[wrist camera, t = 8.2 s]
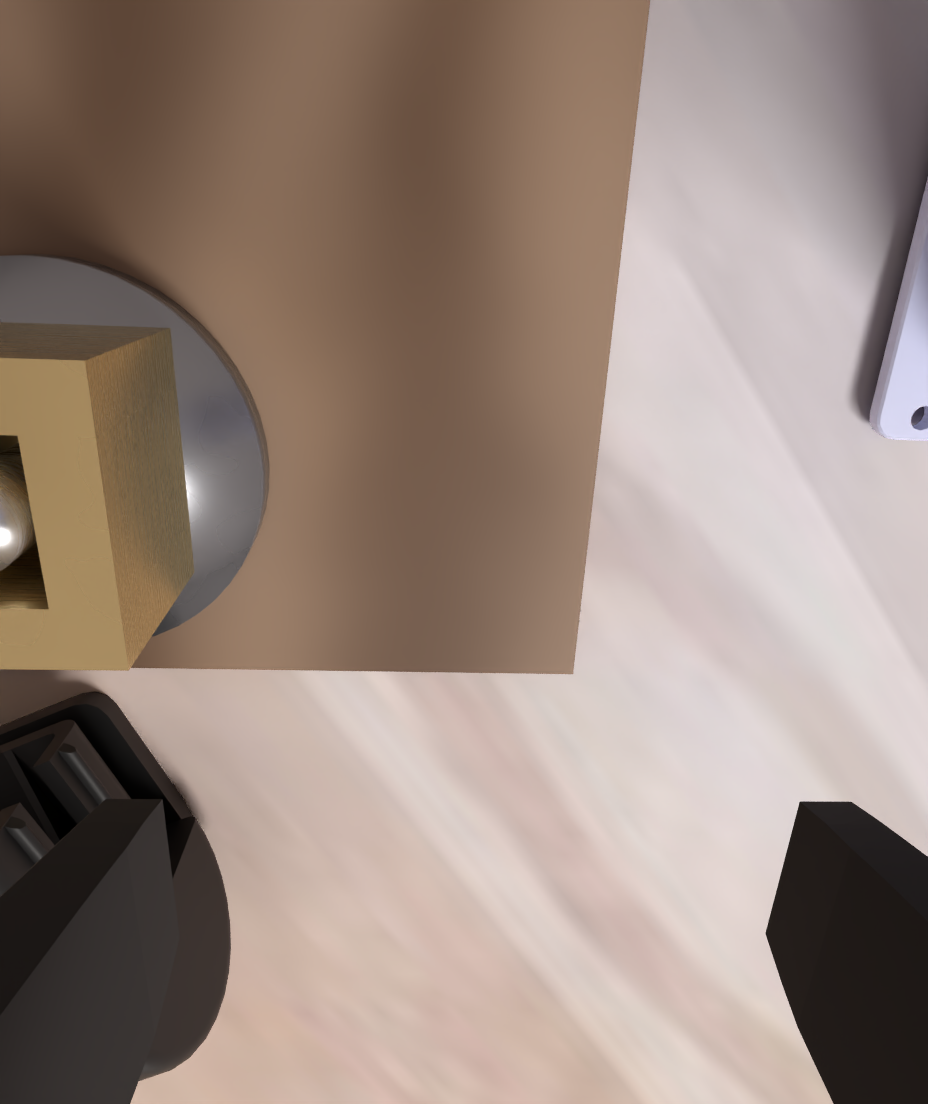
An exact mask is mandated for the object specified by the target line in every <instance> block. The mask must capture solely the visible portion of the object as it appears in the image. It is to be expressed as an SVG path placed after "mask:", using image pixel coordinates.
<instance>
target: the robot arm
mask: <svg viewBox="0 0 928 1104" xmlns="http://www.w3.org/2000/svg"><path fill="white" fill-rule="evenodd" d="M920 407H924V416H923V418H922V420H921V421H920V422H919V423H917V424H916V425H913V426H912V425H911V417H912V415H913V413H914V412H915V411H916V410H917V409H918V408H920ZM869 422H870V424H871V427H872V429H873V430H874V431H875V432H876V433H877V434H879V435H881V436H883V437H886V438H889V439H893V440H921V441H928V178H927V182H926V186H925V191H924V195H923V199H922V203H921V207H920V211H919V215H918V219H917V223H916V227H915V231H914V235H913V239H912V244H911V248H910V252H909V256H908V260H907V264H906V268H905V272H904V276H903V280H902V284H901V288H900V292H899V297H898V301H897V305H896V309H895V313H894V317H893V321H892V325H891V329H890V333H889V337H888V341H887V345H886V350H885V354H884V358H883V362H882V366H881V370H880V374H879V378H878V382H877V386H876V390H875V394H874V398H873V403H872V407H871V411H870V421H869ZM766 936H767V939H768V942H769V945H770V948H771V951H772V954H773V958H774V961H775V964H776V967H777V970H778V973H779V976H780V979H781V982H782V985H783V988H784V990H785V993H786V996H787V999H788V1001H789V1004H790V1007H791V1010H792V1012H793V1015H794V1018H795V1021H796V1024H797V1026H798V1029H799V1031H800V1033H801V1035H802V1037H803V1039H804V1042H805V1044H806V1046H807V1048H808V1050H809V1052H810V1055H811V1057H812V1059H813V1061H814V1063H815V1065H816V1067H817V1069H818V1072H819V1074H820V1076H821V1078H822V1080H823V1082H824V1084H825V1086H826V1089H827V1091H828V1093H829V1095H830V1097H831V1099H832V1101H833V1103H834V1104H928V857H927V856H926V855H925V854H923V853H922V852H921V851H919V850H918V849H916V848H915V847H914V846H912V845H911V844H910V843H908V842H907V841H906V840H904V839H903V838H902V837H900V836H899V835H898V834H896V833H895V832H894V831H892V830H891V829H889V828H888V827H887V826H885V825H884V824H883V823H881V822H880V821H878V820H877V819H875V818H874V817H873V816H871V815H870V814H868V813H867V812H865V811H864V810H862V809H861V808H860V807H858V806H857V805H855V804H854V803H852V802H800V803H799V807H798V811H797V815H796V819H795V822H794V826H793V830H792V834H791V838H790V842H789V845H788V849H787V853H786V857H785V861H784V865H783V868H782V872H781V876H780V880H779V884H778V888H777V891H776V895H775V899H774V903H773V907H772V911H771V914H770V918H769V922H768V926H767V930H766ZM179 939H180V935H179V927H178V919H177V911H176V903H175V895H174V887H173V879H172V871H171V863H170V855H169V847H168V839H167V831H166V823H165V815H164V807H163V799H105V800H104V801H103V802H102V803H101V804H100V805H99V806H97V807H96V808H95V809H94V810H93V811H92V812H91V813H90V814H88V815H87V816H86V817H85V818H84V819H83V820H82V821H81V822H80V823H78V824H77V825H76V826H75V827H74V828H73V829H72V830H71V831H70V832H69V833H68V834H67V835H66V836H64V837H63V838H62V839H61V840H60V841H59V842H58V843H57V844H56V845H55V846H54V847H53V848H52V849H51V850H49V851H48V852H47V853H46V854H45V855H44V856H43V857H42V858H41V859H40V860H39V861H38V862H37V863H36V864H34V865H33V866H32V867H31V868H30V869H29V870H28V871H27V872H26V873H25V874H24V875H23V876H22V877H21V878H19V879H18V880H17V881H16V882H15V883H14V884H13V885H12V886H11V887H10V888H9V889H8V890H6V891H5V892H4V893H3V894H2V895H1V896H0V1104H130V1103H131V1100H132V1097H133V1094H134V1092H135V1089H136V1086H137V1084H138V1081H139V1078H140V1075H141V1073H142V1070H143V1067H144V1065H145V1062H146V1059H147V1056H148V1053H149V1051H150V1048H151V1045H152V1042H153V1039H154V1037H155V1033H156V1029H157V1026H158V1022H159V1018H160V1014H161V1010H162V1007H163V1003H164V999H165V995H166V992H167V988H168V984H169V979H170V975H171V971H172V967H173V963H174V959H175V955H176V951H177V947H178V943H179Z"/></svg>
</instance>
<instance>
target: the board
mask: <svg viewBox="0 0 928 1104" xmlns="http://www.w3.org/2000/svg"><path fill="white" fill-rule="evenodd" d="M649 5H650V0H0V256H7V255H36V254H47V255H56V256H65V257H73V258H78V259H82V260H86V261H90V262H94V263H98V264H102V265H105V266H107V267H110V268H113V269H115V270H118V271H121V272H123V273H126V274H128V275H131V276H133V277H135V278H137V279H138V280H140V281H142V282H144V283H146V284H148V285H150V286H152V287H154V288H156V289H157V290H159V291H160V292H162V293H163V294H164V295H166V296H167V297H169V298H170V299H172V300H173V301H175V302H176V303H178V304H179V305H180V306H182V307H183V308H184V309H185V310H186V311H187V312H189V313H190V314H191V315H192V316H193V317H194V318H195V319H197V320H198V321H199V322H200V323H201V324H202V325H203V326H204V327H205V328H206V329H207V330H208V331H209V332H210V333H211V335H212V336H213V337H214V338H215V339H216V340H217V341H218V342H219V343H220V344H221V346H222V347H223V348H224V350H225V351H226V352H227V354H228V355H229V357H230V358H231V359H232V361H233V362H234V364H235V365H236V367H237V368H238V370H239V371H240V373H241V375H242V377H243V379H244V381H245V382H246V384H247V386H248V388H249V390H250V391H251V394H252V396H253V399H254V401H255V404H256V406H257V409H258V411H259V414H260V416H261V420H262V424H263V428H264V432H265V436H266V440H267V447H268V455H269V464H270V473H269V493H268V499H267V505H266V511H265V515H264V518H263V521H262V524H261V527H260V530H259V533H258V535H257V537H256V539H255V541H254V543H253V546H252V548H251V550H250V552H249V554H248V555H247V557H246V559H245V561H244V563H243V565H242V566H241V568H240V569H239V571H238V572H237V574H236V575H235V577H234V578H233V580H232V581H231V583H230V584H229V585H228V586H227V587H226V588H225V590H224V591H223V592H222V593H221V594H220V595H219V596H218V597H217V598H216V599H215V600H214V601H213V602H212V603H211V604H210V605H208V606H207V607H206V608H205V609H203V610H202V611H201V612H200V613H198V614H197V615H196V616H194V617H192V618H191V619H189V620H187V621H186V622H184V623H182V624H181V625H179V626H177V627H175V628H173V629H170V630H168V631H166V632H163V633H161V634H159V635H156V636H153V637H151V638H150V639H149V641H148V642H147V644H146V645H145V647H144V648H143V650H142V651H141V653H140V654H139V656H138V657H137V659H136V660H135V662H134V663H133V665H132V666H131V668H188V669H257V670H327V671H397V672H466V673H536V674H573V669H574V660H575V651H576V642H577V634H578V625H579V616H580V607H581V599H582V590H583V581H584V573H585V564H586V555H587V546H588V538H589V529H590V520H591V511H592V503H593V494H594V485H595V476H596V468H597V459H598V450H599V442H600V433H601V424H602V415H603V407H604V398H605V389H606V380H607V372H608V363H609V354H610V346H611V337H612V328H613V319H614V311H615V302H616V293H617V284H618V276H619V267H620V258H621V249H622V241H623V232H624V223H625V215H626V206H627V197H628V188H629V180H630V171H631V162H632V153H633V145H634V136H635V127H636V118H637V110H638V101H639V92H640V84H641V75H642V66H643V57H644V49H645V40H646V31H647V22H648V14H649Z"/></svg>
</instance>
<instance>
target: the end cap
mask: <svg viewBox="0 0 928 1104" xmlns="http://www.w3.org/2000/svg"><path fill="white" fill-rule="evenodd" d="M105 799H163V807H164V815H165V823H166V831H167V839H168V847H169V855H170V863H171V871H172V879H173V887H174V895H175V903H176V911H177V919H178V927H179V935H180V939H179V943H178V947H177V951H176V955H175V959H174V963H173V967H172V971H171V975H170V979H169V984H168V988H167V992H166V995H165V999H164V1003H163V1007H162V1010H161V1014H160V1018H159V1022H158V1026H157V1029H156V1033H155V1037H154V1039H153V1042H152V1045H151V1048H150V1051H149V1053H148V1056H147V1059H146V1062H145V1065H144V1067H143V1070H142V1073H141V1075H140V1078H139V1081H141V1080H143V1079H146V1078H149V1077H152V1076H155V1075H158V1074H161V1073H164V1072H167V1071H170V1070H172V1069H174V1068H175V1067H177V1066H178V1065H180V1064H181V1063H182V1062H184V1061H185V1060H187V1059H188V1058H190V1057H191V1056H192V1054H193V1053H194V1052H195V1051H196V1050H197V1048H198V1047H199V1046H200V1045H201V1044H202V1042H203V1041H204V1040H205V1039H206V1037H207V1035H208V1034H209V1032H210V1030H211V1028H212V1026H213V1024H214V1022H215V1020H216V1018H217V1016H218V1013H219V1010H220V1007H221V1004H222V1001H223V998H224V995H225V990H226V984H227V979H228V974H229V965H230V951H231V938H230V919H229V911H228V903H227V897H226V893H225V888H224V884H223V879H222V875H221V872H220V869H219V866H218V863H217V860H216V857H215V855H214V852H213V850H212V848H211V846H210V844H209V841H208V839H207V837H206V835H205V833H204V832H203V830H202V828H201V827H200V825H199V823H198V822H197V820H196V818H195V817H194V816H192V815H191V813H190V811H189V809H188V807H187V805H186V803H185V801H184V799H183V798H182V796H181V795H180V794H179V792H178V791H177V789H176V788H175V786H174V785H173V784H172V782H171V781H170V779H169V778H168V776H167V775H166V774H165V772H164V771H163V769H162V768H161V766H160V765H159V764H158V762H157V761H156V759H155V758H154V757H153V755H152V754H151V752H150V751H149V749H148V748H147V747H146V745H145V744H144V742H143V741H142V739H141V738H140V737H139V735H138V734H137V732H136V731H135V729H134V728H133V727H132V725H131V724H130V722H129V721H128V719H127V718H126V717H125V715H124V714H123V712H122V711H121V710H120V708H119V707H118V705H117V704H116V703H115V702H114V701H113V700H112V699H110V698H109V697H108V696H107V695H104V694H100V693H97V692H90V693H82V694H80V695H77V696H75V697H72V698H70V699H67V700H65V701H62V702H60V703H57V704H55V705H52V706H50V707H47V708H45V709H42V710H40V711H38V712H35V713H33V714H30V715H28V716H25V717H23V718H20V719H18V720H15V721H13V722H10V723H8V724H5V725H3V726H0V896H1V895H2V894H3V893H4V892H5V891H6V890H8V889H9V888H10V887H11V886H12V885H13V884H14V883H15V882H16V881H17V880H18V879H19V878H21V877H22V876H23V875H24V874H25V873H26V872H27V871H28V870H29V869H30V868H31V867H32V866H33V865H34V864H36V863H37V862H38V861H39V860H40V859H41V858H42V857H43V856H44V855H45V854H46V853H47V852H48V851H49V850H51V849H52V848H53V847H54V846H55V845H56V844H57V843H58V842H59V841H60V840H61V839H62V838H63V837H64V836H66V835H67V834H68V833H69V832H70V831H71V830H72V829H73V828H74V827H75V826H76V825H77V824H78V823H80V822H81V821H82V820H83V819H84V818H85V817H86V816H87V815H88V814H90V813H91V812H92V811H93V810H94V809H95V808H96V807H97V806H99V805H100V804H101V803H102V802H103V801H104V800H105Z"/></svg>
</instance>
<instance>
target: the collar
mask: <svg viewBox="0 0 928 1104" xmlns="http://www.w3.org/2000/svg"><path fill="white" fill-rule="evenodd" d="M0 435H14V436H18V441H19V446H20V452H21V457H22V463H23V469H24V474H25V480H26V485H27V491H28V496H29V502H30V507H31V513H32V518H33V524H34V530H35V535H36V541H37V543H36V544H34V545H33V546H32V547H31V548H29V549H28V550H27V551H26V552H24V553H23V554H22V555H21V556H19V557H18V558H17V559H16V560H15V561H13V562H12V563H11V564H10V565H8V566H7V567H6V568H4V569H3V570H1V571H0V669H22V670H129V669H130V668H131V666H132V665H133V663H134V662H135V660H136V659H137V657H138V656H139V654H140V653H141V651H142V650H143V648H144V647H145V645H146V644H147V642H148V641H149V639H150V638H151V636H152V635H153V633H154V632H155V630H156V629H157V627H158V626H159V625H160V623H161V622H162V620H163V619H164V617H165V616H166V614H167V613H168V611H169V610H170V608H171V607H172V605H173V604H174V602H175V601H176V599H177V598H178V596H179V595H180V593H181V592H182V590H183V589H184V587H185V586H186V584H187V583H188V581H189V580H190V578H191V577H192V575H193V574H194V572H195V571H194V561H193V551H192V541H191V531H190V521H189V511H188V501H187V490H186V480H185V470H184V460H183V450H182V440H181V430H180V420H179V410H178V400H177V390H176V380H175V369H174V359H173V349H172V339H171V329H170V328H157V327H129V326H100V325H72V324H44V323H15V322H0Z"/></svg>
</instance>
